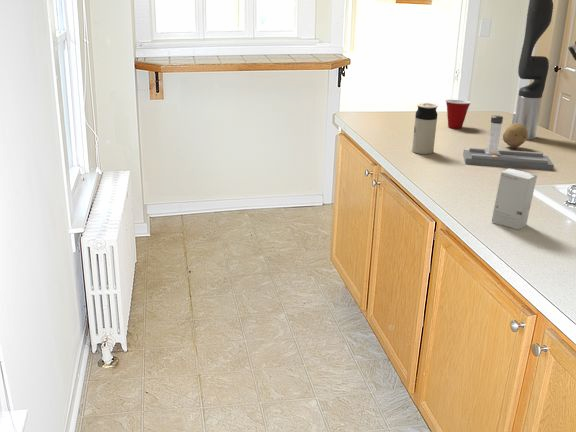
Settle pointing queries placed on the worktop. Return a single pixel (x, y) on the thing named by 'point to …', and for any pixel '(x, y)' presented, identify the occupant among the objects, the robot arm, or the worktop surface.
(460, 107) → the plastic cup
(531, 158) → the slider board
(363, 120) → the worktop surface
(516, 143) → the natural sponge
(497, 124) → the fader lever
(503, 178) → the skincare box
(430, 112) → the travel mug
